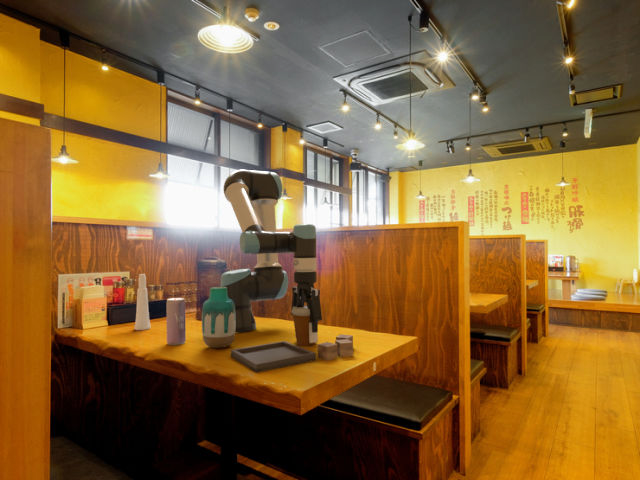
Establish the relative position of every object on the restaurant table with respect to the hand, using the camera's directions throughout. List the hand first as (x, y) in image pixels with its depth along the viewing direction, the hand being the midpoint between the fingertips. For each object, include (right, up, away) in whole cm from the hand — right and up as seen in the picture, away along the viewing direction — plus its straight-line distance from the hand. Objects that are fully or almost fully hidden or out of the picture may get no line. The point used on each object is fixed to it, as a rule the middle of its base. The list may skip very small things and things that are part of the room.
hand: (306, 339), depth 129 cm
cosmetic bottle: (-67, -3, +28) cm, 73 cm away
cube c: (+12, -1, -8) cm, 14 cm away
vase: (-28, -2, -3) cm, 28 cm away
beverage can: (-44, -2, +3) cm, 44 cm away
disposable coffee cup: (0, -1, 0) cm, 1 cm away
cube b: (+12, -1, -14) cm, 18 cm away
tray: (-9, -1, -17) cm, 19 cm away
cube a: (+7, -1, -17) cm, 18 cm away
